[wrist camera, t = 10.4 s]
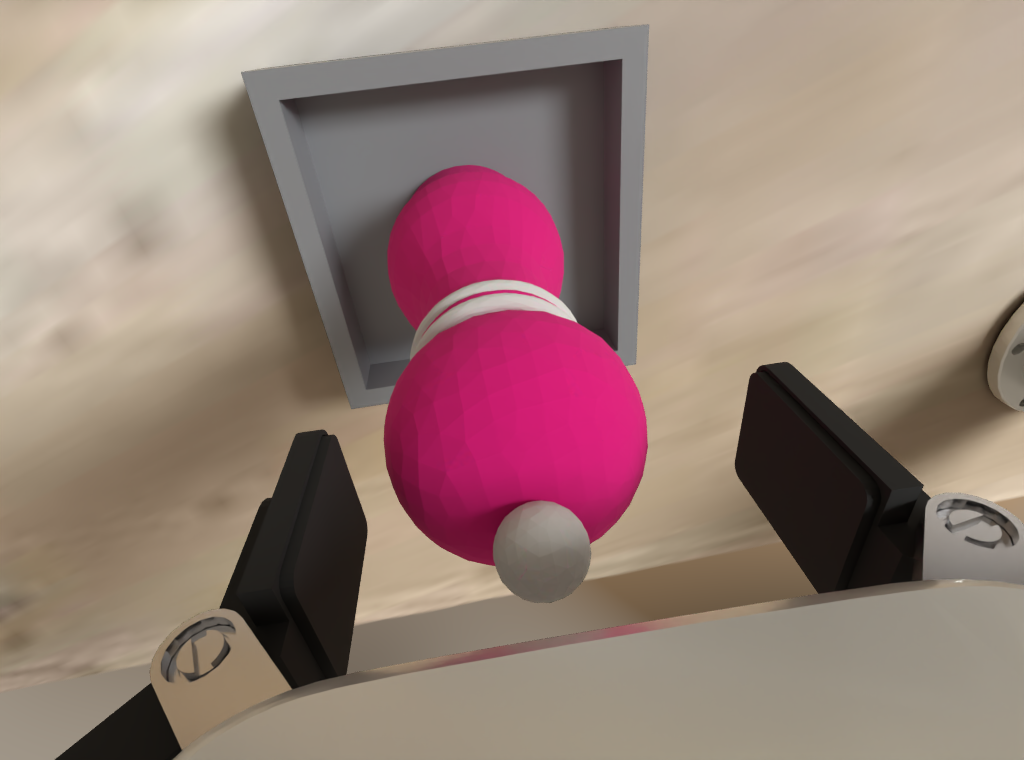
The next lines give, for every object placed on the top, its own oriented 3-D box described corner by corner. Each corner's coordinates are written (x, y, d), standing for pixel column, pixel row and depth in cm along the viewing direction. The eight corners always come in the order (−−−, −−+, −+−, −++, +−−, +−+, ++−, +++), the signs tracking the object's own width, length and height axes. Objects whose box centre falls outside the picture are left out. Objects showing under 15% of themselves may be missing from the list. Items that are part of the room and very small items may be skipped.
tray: (620, 26, 23) (649, 24, 20) (616, 333, 31) (635, 364, 28) (265, 68, 22) (240, 71, 19) (358, 373, 30) (351, 409, 27)
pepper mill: (551, 285, 28) (743, 657, 11) (415, 314, 27) (400, 737, 11) (531, 137, 24) (785, 367, 7) (372, 170, 23) (241, 487, 7)
